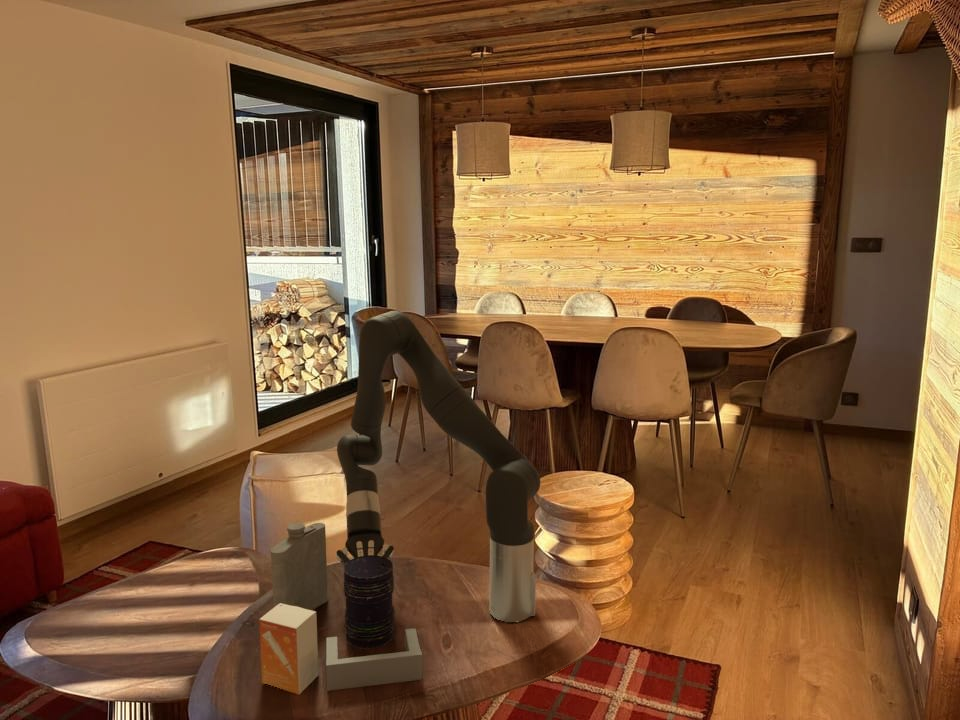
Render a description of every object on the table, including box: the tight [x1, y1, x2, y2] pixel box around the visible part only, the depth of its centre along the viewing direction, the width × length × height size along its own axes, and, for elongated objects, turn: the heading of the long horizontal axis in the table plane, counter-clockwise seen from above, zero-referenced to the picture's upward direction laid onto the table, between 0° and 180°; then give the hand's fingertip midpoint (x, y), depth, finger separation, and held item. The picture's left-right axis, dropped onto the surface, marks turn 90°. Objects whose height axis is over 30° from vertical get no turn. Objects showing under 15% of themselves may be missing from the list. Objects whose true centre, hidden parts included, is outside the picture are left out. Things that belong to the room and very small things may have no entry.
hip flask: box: [270, 521, 329, 611], centre depth 153 cm, size 16×4×20 cm, turn 156°
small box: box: [258, 603, 319, 695], centre depth 131 cm, size 8×6×13 cm
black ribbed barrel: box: [343, 555, 396, 650], centre depth 145 cm, size 10×10×15 cm
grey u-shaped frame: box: [325, 628, 423, 692], centre depth 136 cm, size 17×10×5 cm, turn 102°
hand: (367, 592), depth 154 cm, fingers closed
